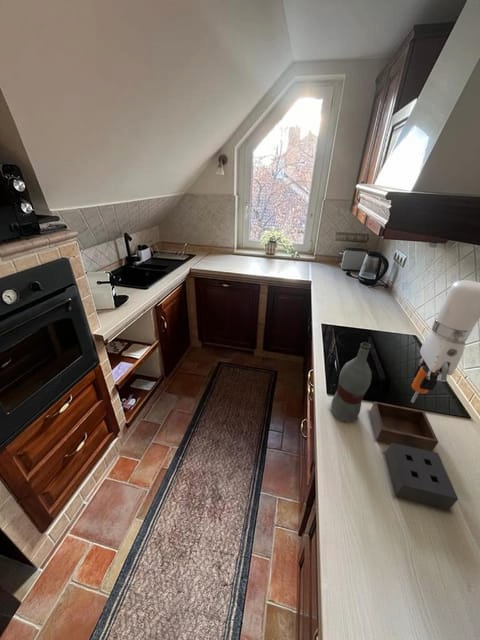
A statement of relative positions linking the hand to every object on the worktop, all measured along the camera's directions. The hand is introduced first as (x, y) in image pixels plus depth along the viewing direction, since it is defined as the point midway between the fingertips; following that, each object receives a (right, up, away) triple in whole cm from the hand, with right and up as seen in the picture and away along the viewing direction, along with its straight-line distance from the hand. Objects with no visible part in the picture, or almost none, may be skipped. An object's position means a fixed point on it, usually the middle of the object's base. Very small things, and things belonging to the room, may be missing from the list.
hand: (422, 382), depth 73 cm
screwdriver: (0, -7, +4) cm, 8 cm away
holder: (-4, -27, -2) cm, 27 cm away
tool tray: (0, -19, +11) cm, 22 cm away
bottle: (-16, -15, +17) cm, 28 cm away
